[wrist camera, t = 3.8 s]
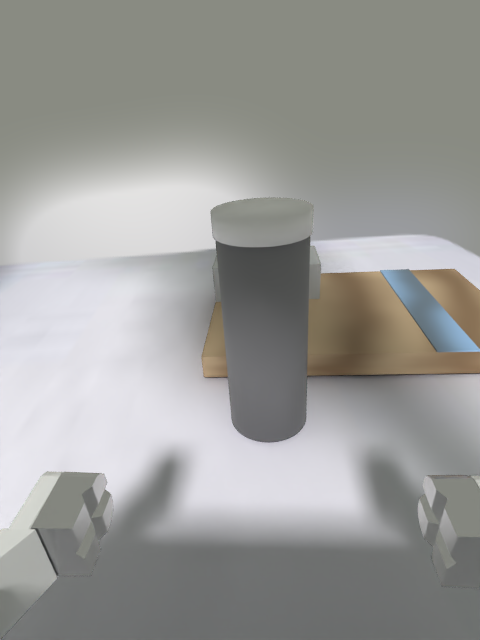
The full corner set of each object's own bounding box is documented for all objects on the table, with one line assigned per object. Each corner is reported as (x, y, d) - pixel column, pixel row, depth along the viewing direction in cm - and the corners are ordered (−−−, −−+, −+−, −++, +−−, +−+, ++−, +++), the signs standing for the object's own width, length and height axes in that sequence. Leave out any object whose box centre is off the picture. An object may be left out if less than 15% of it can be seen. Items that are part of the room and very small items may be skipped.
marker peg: (226, 444, 20) (203, 223, 15) (232, 391, 24) (216, 200, 18) (311, 443, 19) (319, 218, 14) (304, 390, 23) (308, 195, 18)
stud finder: (215, 301, 31) (212, 266, 30) (221, 280, 35) (218, 247, 34) (319, 298, 30) (320, 262, 29) (313, 277, 34) (314, 243, 33)
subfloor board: (203, 377, 25) (201, 355, 24) (223, 292, 36) (222, 275, 36) (542, 372, 23) (550, 348, 23) (451, 285, 35) (454, 267, 34)
